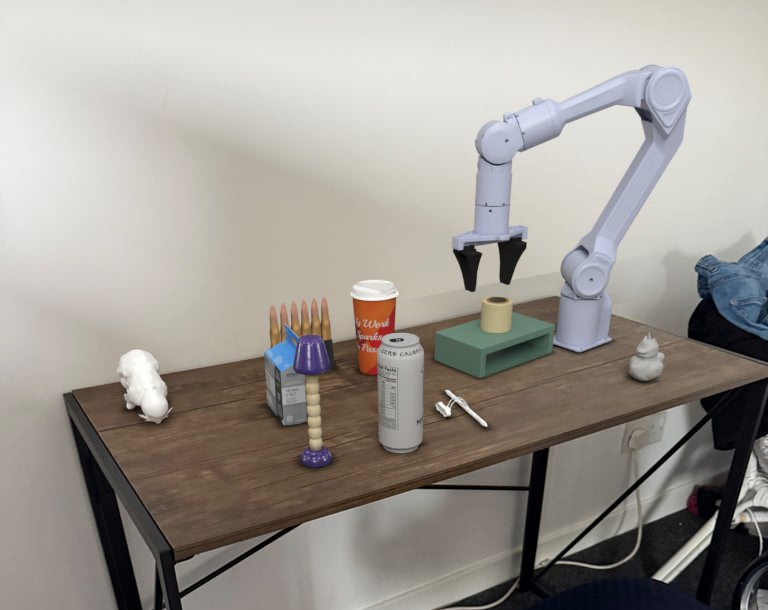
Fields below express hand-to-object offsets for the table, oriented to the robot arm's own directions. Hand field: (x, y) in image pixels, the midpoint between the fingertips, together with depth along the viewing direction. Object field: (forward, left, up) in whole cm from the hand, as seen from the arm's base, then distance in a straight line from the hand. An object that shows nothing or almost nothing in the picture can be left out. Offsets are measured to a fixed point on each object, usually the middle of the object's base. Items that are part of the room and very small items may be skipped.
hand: (487, 287), depth 131 cm
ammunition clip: (+32, -11, -11) cm, 35 cm away
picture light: (+24, +17, -11) cm, 31 cm away
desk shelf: (+3, +5, -10) cm, 12 cm away
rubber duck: (-8, +28, -11) cm, 31 cm away
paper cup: (+22, -4, -11) cm, 25 cm away
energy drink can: (+37, +20, -11) cm, 43 cm away
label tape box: (+43, +1, -11) cm, 44 cm away
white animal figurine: (+58, -12, -11) cm, 61 cm away
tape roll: (+3, +5, -5) cm, 8 cm away
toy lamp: (+48, +16, -11) cm, 52 cm away
